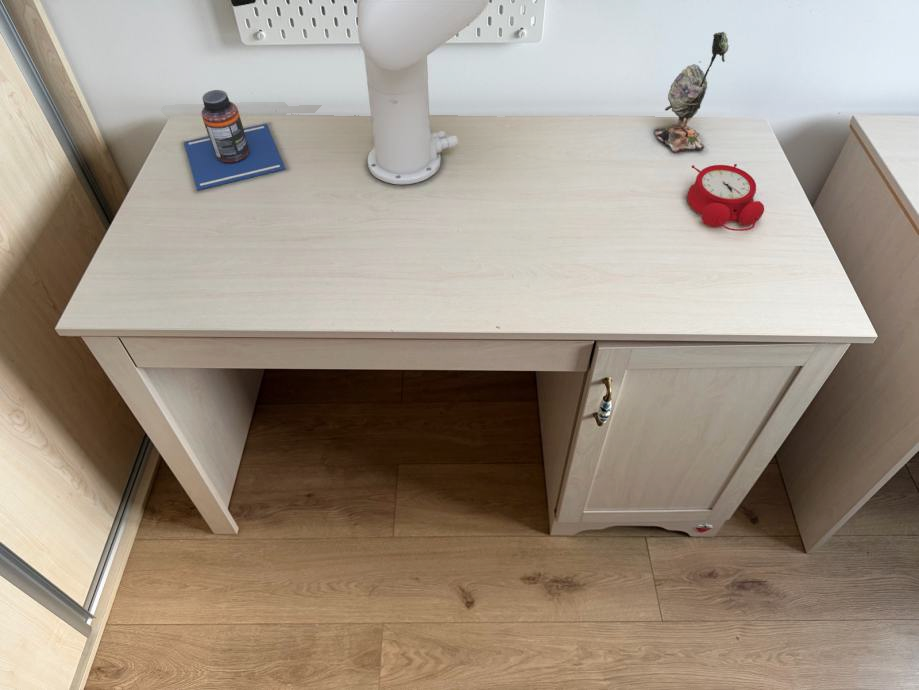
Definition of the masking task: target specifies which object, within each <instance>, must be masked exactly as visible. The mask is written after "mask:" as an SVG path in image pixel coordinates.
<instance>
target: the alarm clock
mask: <svg viewBox="0 0 919 690" xmlns="http://www.w3.org/2000/svg"><path fill="white" fill-rule="evenodd" d="M691 169H694V170H695V171H696V172H697V176H696V178H695V181H694V183H693V184H692V185H691V186H690V187H689V188H688V190H687V194H686V199H687V203H688V205H689V206H690V208H691V209H692V210H694V211H695V212H696V214H698V215H700V216H701V217H700V219H701V221H702V222H703V224H705V225H706V226H707V227H710V228H719V227H723V228H725V229H726V230H729V231H736V232H738V231H739V232H743V231H749V230H752V229H754V228H755V226H756V223H757V222H758V221H759V220H761V218H762V217H763V215H764V212H765V206H764V204H763V202H761V201H760V200H755V201H754V197H755V195H756V192H757V183H756V181H755V179H754V178H753V176H751V175H750V174H749V173H748V172H746V171H745V170H743V169H741V168H739V167H738V165H737V163H734V164H733V166H732V165H726V164H716V165H715V164H713V165H708V166H707V167H704V168H702V169H701V170H700V169H698V168H697V167H696V166H695V165H691ZM734 222H738V223H739V224H740V225H741V226H743V227H744V226H745V227H747V228H731V227H729V226H726V224H727V223H734ZM748 226H750V227H748Z"/></svg>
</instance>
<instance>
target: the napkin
mask: <svg viewBox="0 0 919 690" xmlns="http://www.w3.org/2000/svg"><path fill="white" fill-rule="evenodd" d="M243 129H244V133H245V136H246V139H247V143H248V146H249V154H248V156H247V157H245V158H244V159H243V160H241V161H238V162H235V163H225V162H222V161H220V160H218V159H217V157H216V155H215V153H214V150H213V148H212V144H211V141H210V138H209V135H208V136H204V137H200V138H196V139H191V140H185V141H183V144H184V147H185V151H186V154H187V158H188V162H189V165H190V169H191V174H192V177H193V180H194V184H195V187H196V191H203V190H206V189H210V188H215V187H219V186H222V185H228V184H231V183H236V182H239V181H240V182H241V181H243V180H247V179H251V178H256V177H260V176H264V175H268V174H273V173H276V172H277V173H278V172H281V171H285V170H286V166H285V165H284V162H283V159H282V157H281V154H280V152H279V150H278V147H277V145H276V143H275V140H274V137H273V136H272V134H271V131H270V129H269V126H268V123H262V124H257V125H252V126H249V127H245V128H244V127H243Z"/></svg>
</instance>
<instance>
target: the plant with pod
mask: <svg viewBox="0 0 919 690" xmlns="http://www.w3.org/2000/svg"><path fill="white" fill-rule="evenodd" d="M728 43H729V39H728V36H727V33H726V32H725V31H721V32H715V33H714V34H713V40H712V45H711V53H712V54H711V55H712V56H711V60H710V63H709V65H708V68H707V69H706V71H705V72H704V70H702V69H701V68H700V66H699V65H698V64H695V63H693V64H691V65H687V66H686V67H685V69H684V68H683V69H682V70H681V72H680V73H679V74H678V75H677V76H676V78H675V79H674V80H673V82H672V83H671V85H670V89H669V90H668V95H667V100H668V102H669V105H668V106H666V107H665V108H664V111H666V112H667V111H669V110H670V109H671V112H673V113H674V114H675V115H676V116H677V117H678V120H677V125H676V124H675V125H672V126H669V127H662V128H656V129H654V130H653V131H654V134H655V135H656V137H657V138H658V140H659V141H661V142H665V145H667V146H669V147H670V148H671V150H672V152H676V153H677V152H679V151H680V152H682V151H683V150H692V151H694V150H701V151H702V150H704V149H705V147H706V146H704V144H703V143H702V139H701V138H702V136H701V135H700V133H699V132H698V131H696V130H695V129H693V128H692V127H691V126H689V125H688V123H689V122H690V121H691V119H692V118H693V117H695V115H696V114H697V113H698V112H699V111H698V110H700V109H701V105H702V102H703V100H704V98H705V95H706V93H707V92H706V91H707V90H708V81H707V76H708V74H709V71H710V68H711V67H712V65H713V64H714V61H715V60H716V57H717V55H719V57H721V62H723V63H724V62H726V60H725V55H726V53H727V52H728V51H729V47H730V46H729V44H728ZM699 63H700V64H701V63H702V61H699Z"/></svg>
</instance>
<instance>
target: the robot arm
mask: <svg viewBox="0 0 919 690" xmlns="http://www.w3.org/2000/svg"><path fill="white" fill-rule="evenodd" d="M256 1H257V0H230V3H231V5H232V7H235V8H236V7H242V6H246V5H252V4H256ZM490 1H491V0H357V6H356V8H357V9H356V13H357V35H358V36H357V37H358V41H359V45H360V48H361V50H362V52H363V56H364V66H365V73H366V75H365V76H366V83H367V84H366V85H367V93H368V102H369V110H370V118H371V126H372V135H373V143H374V147H373V148H372V149H371V150H370V152H369V153H368V156H367V166H368V169H369V172H370V173H371V174H372V176H373V177H375V178H376V179H378V180H380V181H382V182H385V183H387V184H393V185H413V184H417V183H420V182H424V181H425V180H428V179H430V178H431V177H432V176H433V175H435V174H436V173H437V172H438V170H439V168H440V166H441V162H442V161H441V153H442V150H445V149H453V148H455V147H458V146H459V140H458V136H456V134H452V135H449V136H448V135H446V131H445V130H441V131H437V132H433V133H432V132H431V121H430V120H431V119H430V100H429V99H430V97H429V72H428V70H429V69H428V56H429V55H430V54H432V53H433V52H435V51H436V50H437V49H439V48H440V47H442V45H444V44H446V43H447V42H448V41H449V40H451V39H453V38H454V37H455V36H456V35H458V34H459V33H461V32H462V31H463V30H464V29H465V28H467V27H469V25H471V24H472V23H473V22H474V21H475V20H477V18H478V17H480V15H481V14H482V13H483V12H484V10H486V8H487V6H488V5H489V3H490Z"/></svg>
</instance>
